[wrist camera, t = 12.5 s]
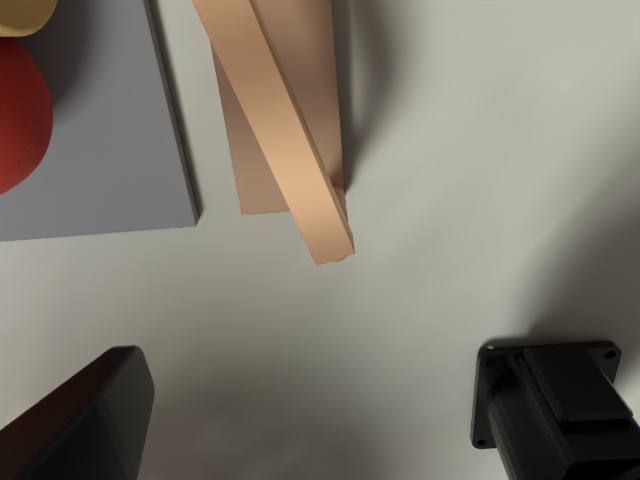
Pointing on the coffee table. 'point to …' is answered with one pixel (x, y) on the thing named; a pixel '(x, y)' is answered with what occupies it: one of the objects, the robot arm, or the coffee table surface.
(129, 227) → the mat
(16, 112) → the kendama
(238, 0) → the tan wooden frame
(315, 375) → the coffee table surface
